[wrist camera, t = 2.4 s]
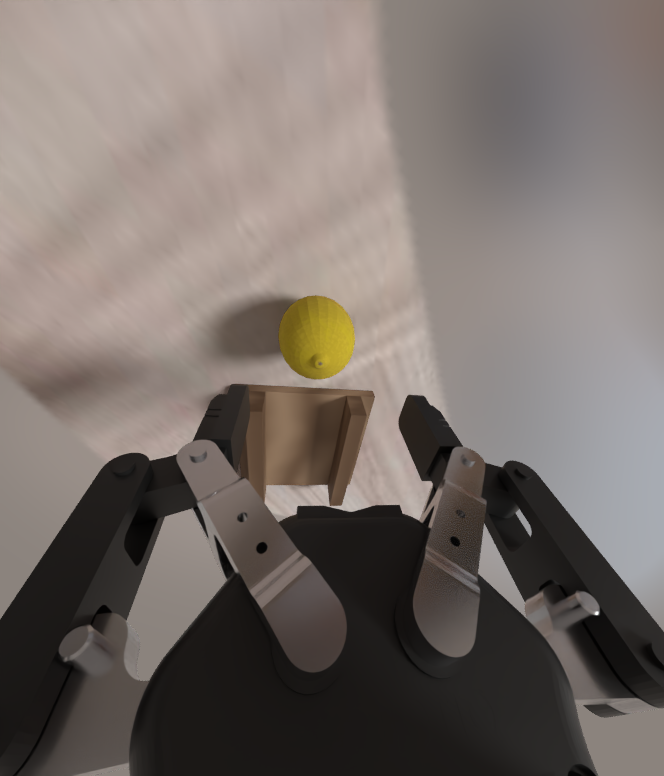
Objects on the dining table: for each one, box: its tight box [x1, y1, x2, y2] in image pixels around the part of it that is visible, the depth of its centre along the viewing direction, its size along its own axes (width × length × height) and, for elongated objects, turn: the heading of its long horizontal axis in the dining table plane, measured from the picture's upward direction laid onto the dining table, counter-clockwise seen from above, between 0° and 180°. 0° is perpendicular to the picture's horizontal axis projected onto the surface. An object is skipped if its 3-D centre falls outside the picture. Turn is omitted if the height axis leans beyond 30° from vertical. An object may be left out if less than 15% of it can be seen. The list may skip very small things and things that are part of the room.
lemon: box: [278, 296, 355, 379], centre depth 19 cm, size 6×6×8 cm
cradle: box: [236, 384, 375, 506], centre depth 30 cm, size 14×15×4 cm
